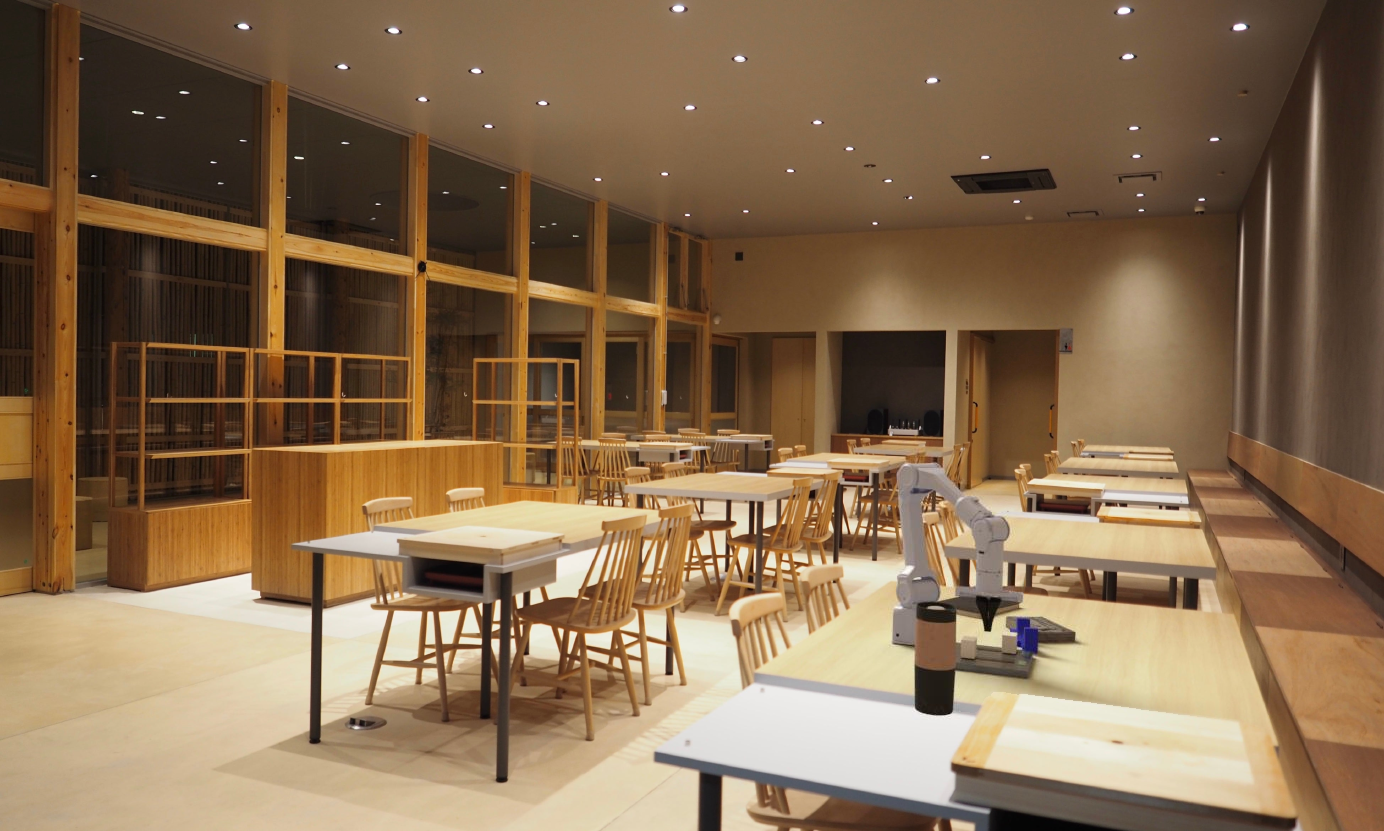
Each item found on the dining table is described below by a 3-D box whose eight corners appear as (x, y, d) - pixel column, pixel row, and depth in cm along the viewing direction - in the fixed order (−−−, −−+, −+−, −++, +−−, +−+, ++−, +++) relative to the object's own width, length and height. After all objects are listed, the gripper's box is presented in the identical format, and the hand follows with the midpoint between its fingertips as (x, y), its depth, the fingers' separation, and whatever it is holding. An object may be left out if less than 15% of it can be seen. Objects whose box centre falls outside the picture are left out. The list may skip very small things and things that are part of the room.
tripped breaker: (960, 657, 218) (961, 639, 218) (963, 653, 222) (963, 635, 222) (974, 658, 217) (974, 641, 217) (976, 654, 221) (977, 637, 221)
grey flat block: (1041, 627, 259) (1041, 615, 259) (1076, 643, 242) (1077, 631, 242) (1003, 627, 257) (1004, 615, 257) (1036, 644, 240) (1036, 631, 240)
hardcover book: (1020, 609, 282) (1020, 602, 282) (978, 620, 266) (978, 612, 266) (971, 600, 294) (971, 592, 293) (928, 610, 278) (928, 602, 278)
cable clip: (1009, 641, 242) (1010, 617, 242) (1028, 642, 242) (1029, 618, 242) (1018, 653, 231) (1018, 628, 230) (1037, 654, 230) (1038, 629, 230)
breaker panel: (941, 667, 216) (942, 660, 215) (953, 648, 233) (953, 641, 233) (1027, 678, 209) (1027, 670, 208) (1032, 657, 226) (1033, 650, 226)
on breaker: (1001, 652, 223) (1002, 635, 223) (1003, 648, 227) (1003, 631, 227) (1015, 653, 222) (1015, 636, 222) (1016, 649, 226) (1017, 632, 226)
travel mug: (908, 703, 189) (910, 601, 189) (946, 703, 190) (948, 601, 190) (920, 716, 182) (923, 610, 181) (960, 716, 182) (963, 610, 182)
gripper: (953, 570, 217) (952, 630, 217) (1022, 576, 211) (1020, 638, 211) (958, 565, 223) (956, 624, 224) (1024, 571, 218) (1022, 631, 218)
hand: (987, 630), depth 218 cm, fingers closed
